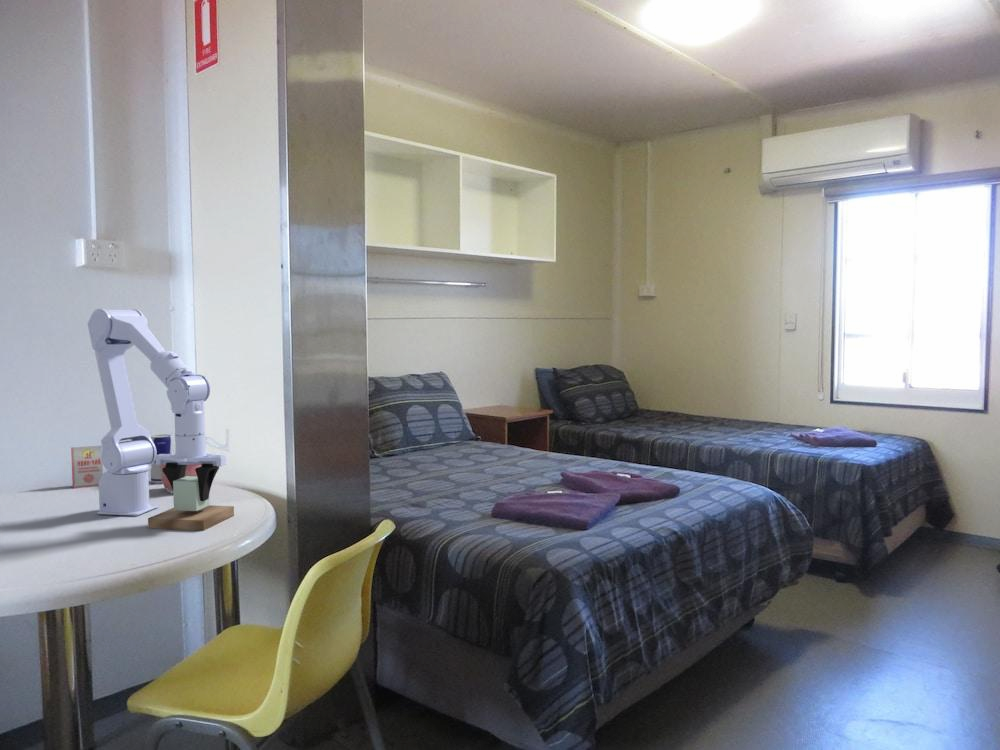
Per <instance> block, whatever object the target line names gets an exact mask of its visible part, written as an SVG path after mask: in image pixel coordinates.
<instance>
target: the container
mask: <svg viewBox="0 0 1000 750" xmlns="http://www.w3.org/2000/svg"><path fill="white" fill-rule="evenodd" d="M165 466H166V464H162V466H161V472H162V485H163V487H164V488H165V489H166V490H167V491H168V492H167V493H169V492H172V493H171V494H173V490H172V487H171V485H170V482H169V480H168V479H167V477H166V475H165V474H164V473H163V471H162V468H164V467H165ZM198 467H201V465H187V466H186V471H185V477H186V476H197V474H196V471H195V468H198Z"/></svg>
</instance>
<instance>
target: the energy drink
mask: <svg viewBox="0 0 1000 750" xmlns="http://www.w3.org/2000/svg"><path fill="white" fill-rule="evenodd" d="M150 437H151V439H152V441H153V443H154V444H155V447H156V450H157V455H159V454H174V452H173V449H174V448H173V437H172V434H154V435H150ZM161 466H162V464H161V465H156V459H155V462H154V463H153V464H152V465H151V469H150V483H152V484H155V485H156V484H158V485H159V484H162V485H163V483H162V472H161Z"/></svg>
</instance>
